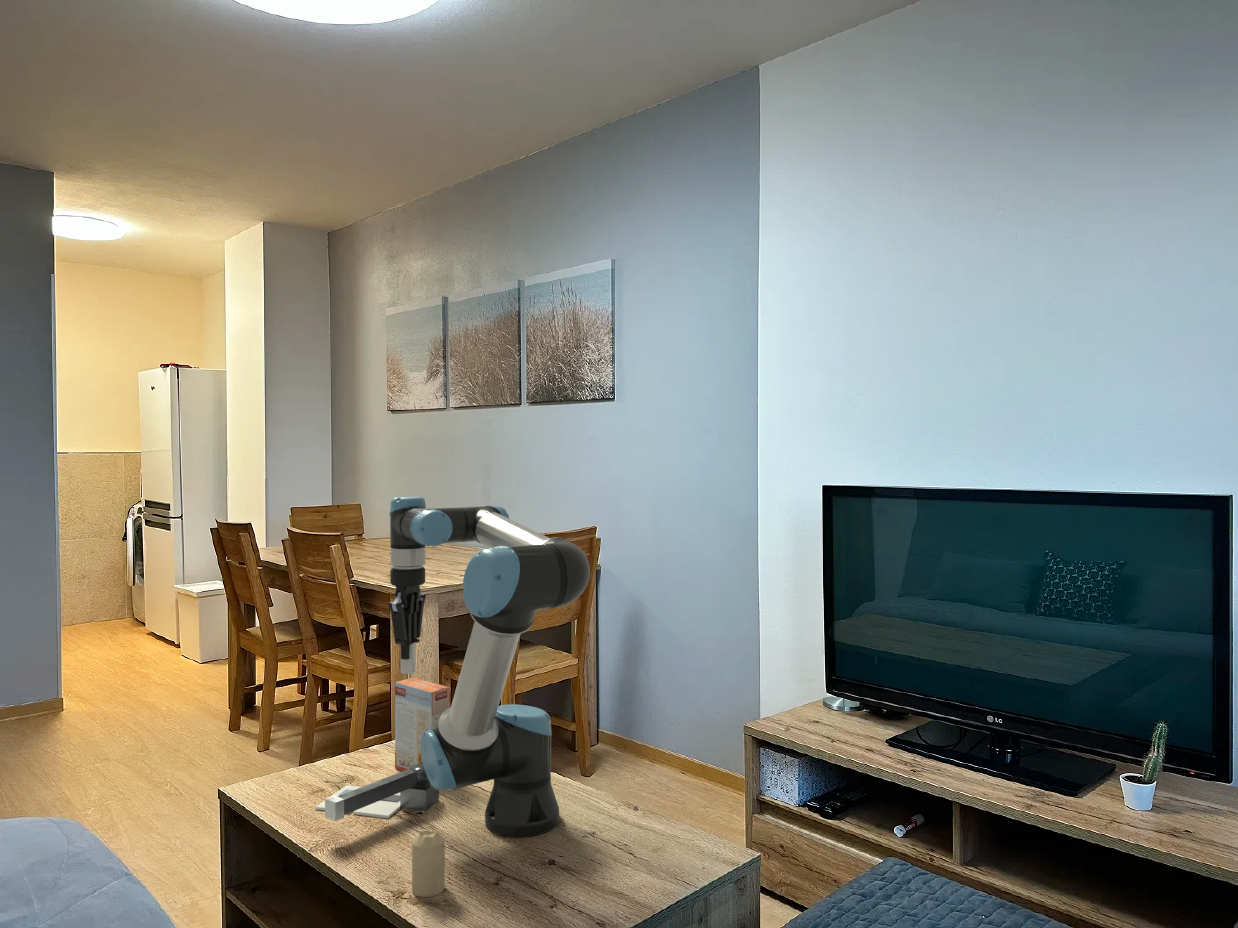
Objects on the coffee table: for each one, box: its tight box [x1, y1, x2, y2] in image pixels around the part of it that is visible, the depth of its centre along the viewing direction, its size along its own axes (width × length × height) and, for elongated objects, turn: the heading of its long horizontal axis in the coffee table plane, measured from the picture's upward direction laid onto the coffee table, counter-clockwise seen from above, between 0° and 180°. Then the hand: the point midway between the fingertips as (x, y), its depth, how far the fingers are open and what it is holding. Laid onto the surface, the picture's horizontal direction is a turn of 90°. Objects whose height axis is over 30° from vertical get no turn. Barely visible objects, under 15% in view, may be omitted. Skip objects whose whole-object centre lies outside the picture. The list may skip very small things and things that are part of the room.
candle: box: [411, 830, 446, 898], centre depth 152 cm, size 6×6×10 cm
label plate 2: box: [353, 793, 401, 819], centre depth 187 cm, size 8×12×1 cm, turn 166°
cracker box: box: [394, 677, 451, 772], centre depth 206 cm, size 14×6×21 cm, turn 50°
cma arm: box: [324, 764, 429, 822], centre depth 179 cm, size 25×4×4 cm, turn 144°
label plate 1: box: [314, 784, 362, 814], centre depth 189 cm, size 8×12×1 cm, turn 166°
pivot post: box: [399, 782, 440, 813], centre depth 187 cm, size 6×6×4 cm
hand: (407, 672), depth 194 cm, fingers closed
